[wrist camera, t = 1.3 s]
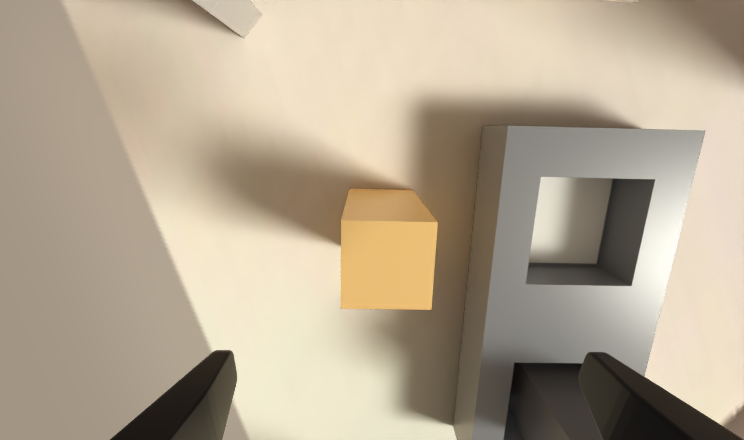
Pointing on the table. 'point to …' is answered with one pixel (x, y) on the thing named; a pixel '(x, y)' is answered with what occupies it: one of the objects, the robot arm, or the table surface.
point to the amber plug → (387, 250)
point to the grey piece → (566, 255)
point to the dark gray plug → (550, 402)
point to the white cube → (629, 0)
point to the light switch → (233, 13)
